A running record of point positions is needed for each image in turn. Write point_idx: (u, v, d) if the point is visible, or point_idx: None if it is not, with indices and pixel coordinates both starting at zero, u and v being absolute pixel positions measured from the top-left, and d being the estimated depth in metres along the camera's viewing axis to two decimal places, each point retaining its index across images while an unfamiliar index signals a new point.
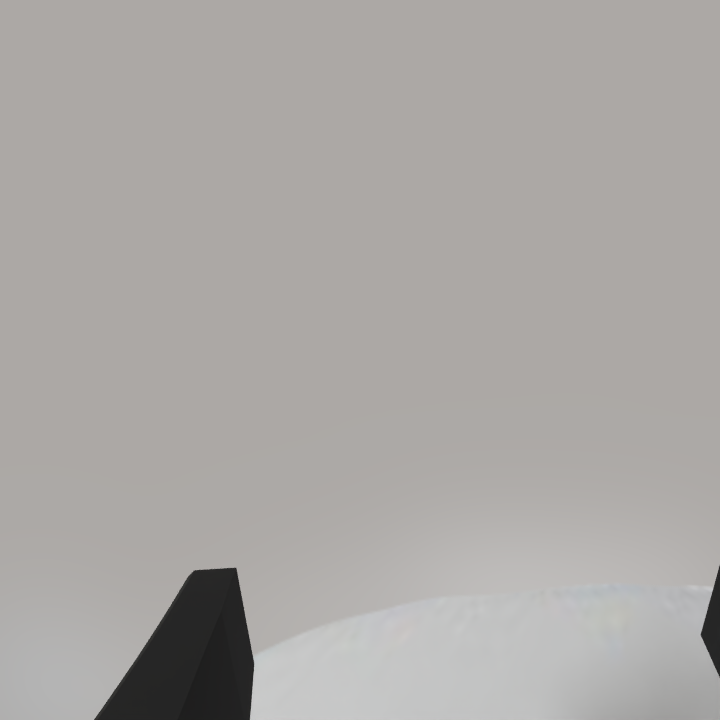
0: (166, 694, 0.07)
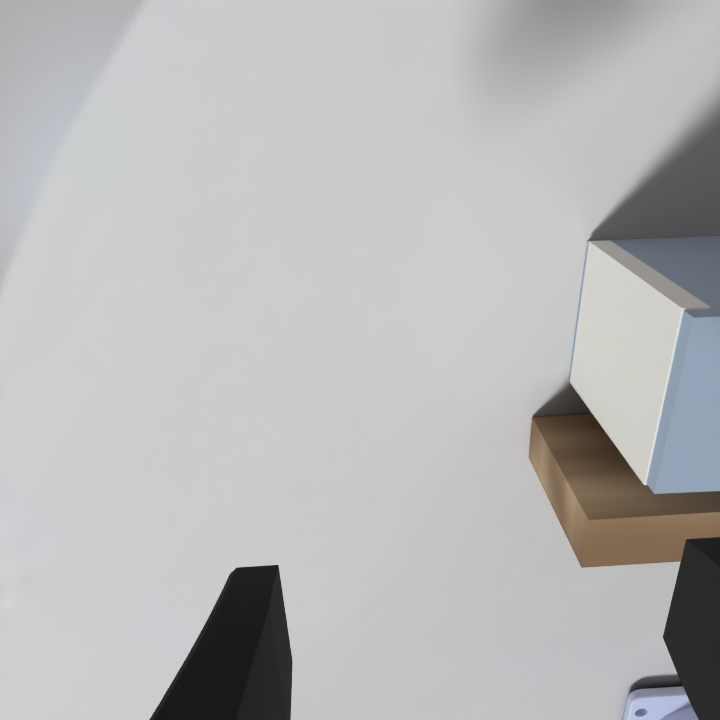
0: (223, 690, 0.07)
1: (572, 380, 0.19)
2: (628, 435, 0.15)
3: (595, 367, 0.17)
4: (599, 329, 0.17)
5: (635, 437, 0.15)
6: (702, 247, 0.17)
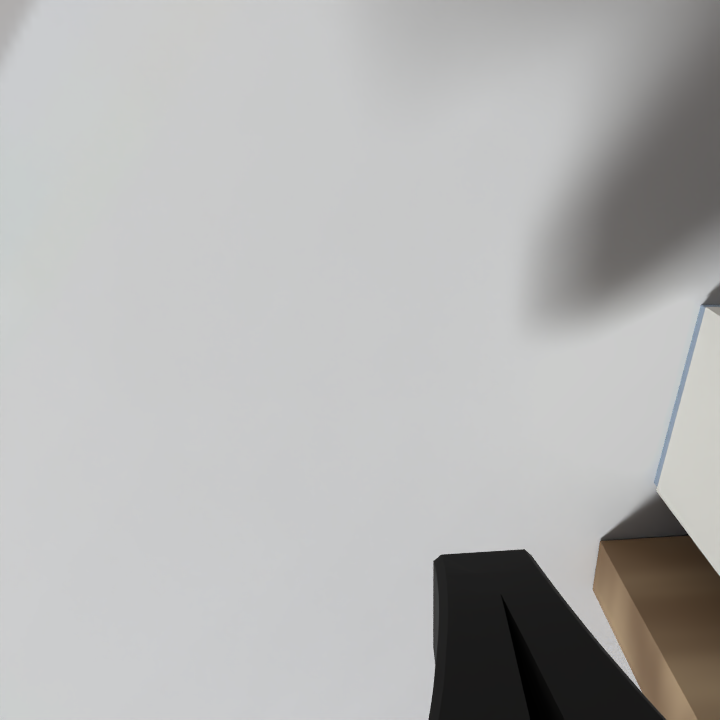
0: (497, 672, 0.07)
1: (661, 490, 0.14)
2: None
3: (710, 487, 0.12)
4: None
5: None
6: None
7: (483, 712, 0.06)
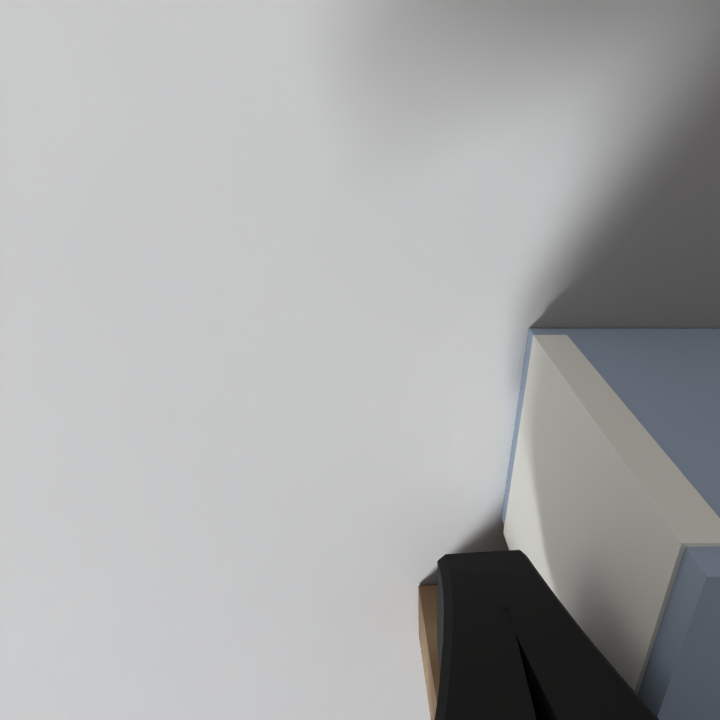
0: (502, 672, 0.07)
1: (506, 533, 0.13)
2: None
3: (535, 538, 0.11)
4: (543, 481, 0.10)
5: None
6: (713, 358, 0.10)
7: (489, 712, 0.06)
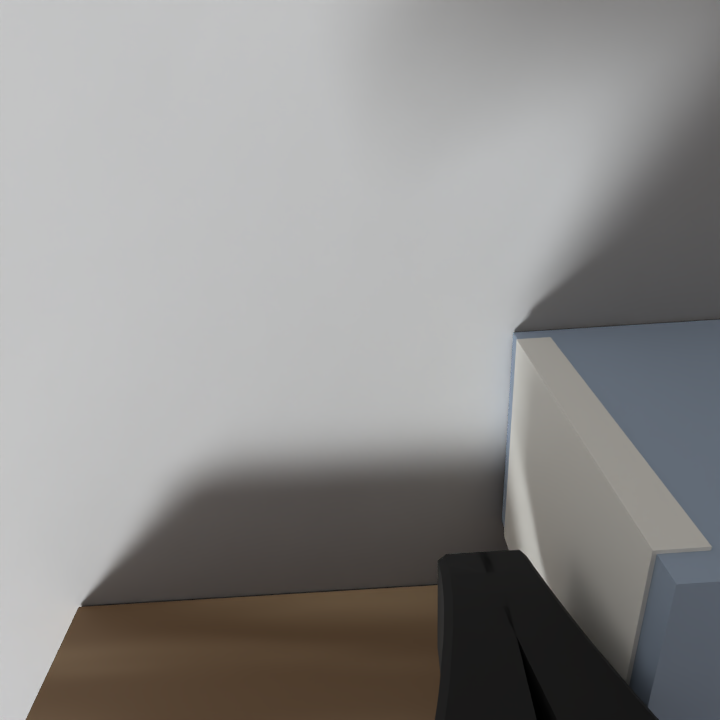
0: (502, 672, 0.07)
1: (506, 536, 0.13)
2: None
3: (530, 542, 0.11)
4: (534, 485, 0.10)
5: None
6: (698, 352, 0.10)
7: (489, 712, 0.06)
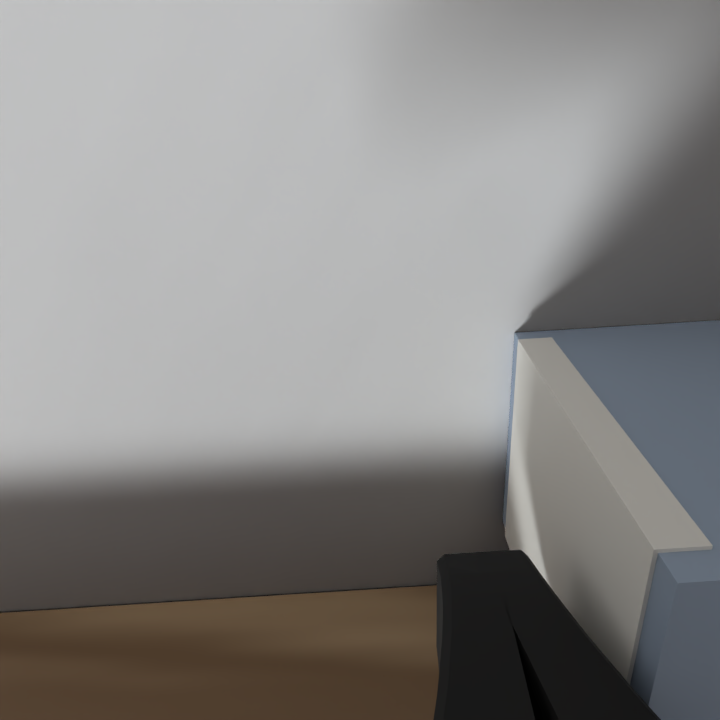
0: (501, 672, 0.07)
1: (507, 535, 0.13)
2: None
3: (531, 541, 0.11)
4: (535, 484, 0.11)
5: None
6: (699, 352, 0.10)
7: (488, 712, 0.06)
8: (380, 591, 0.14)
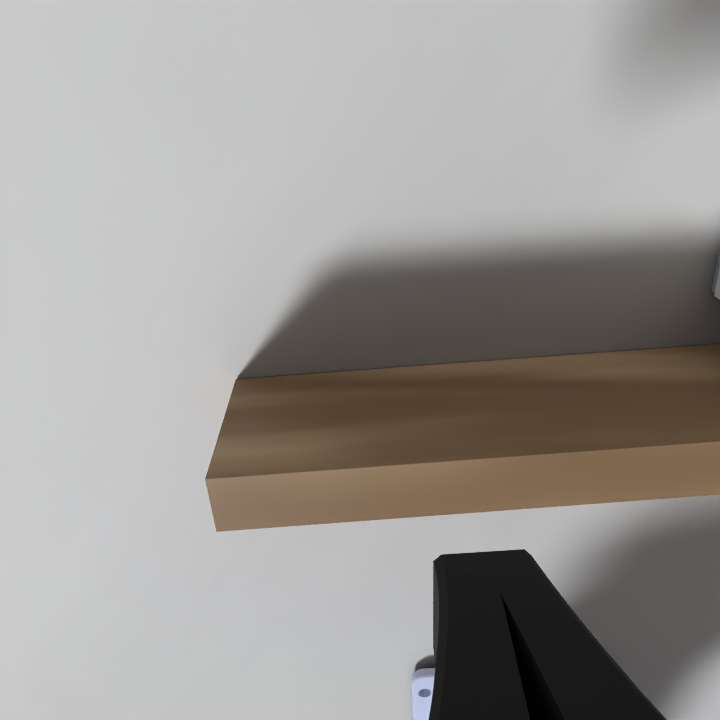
0: (496, 672, 0.07)
1: (718, 292, 0.18)
2: None
3: None
4: None
5: None
6: None
7: (483, 712, 0.06)
8: (611, 352, 0.19)
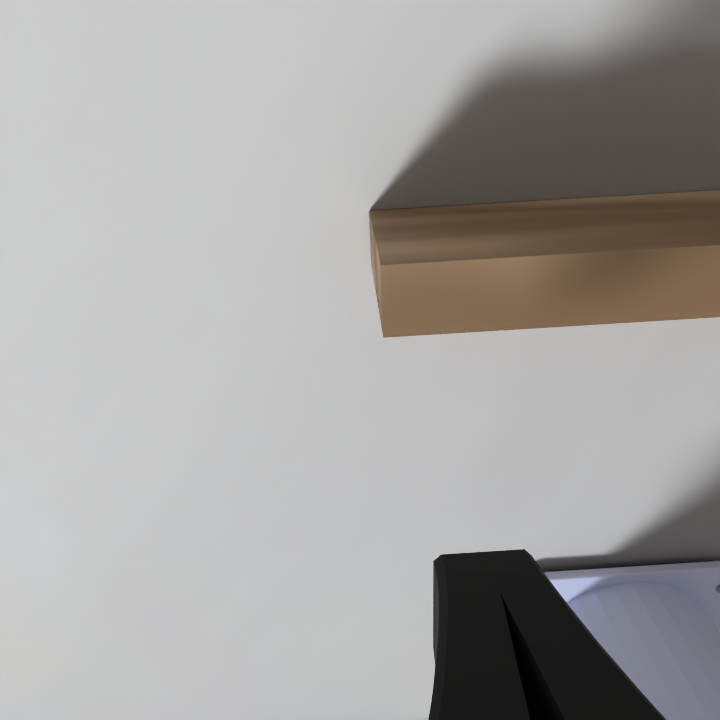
0: (497, 672, 0.07)
1: None
2: None
3: None
4: None
5: None
6: None
7: (483, 712, 0.06)
8: None
